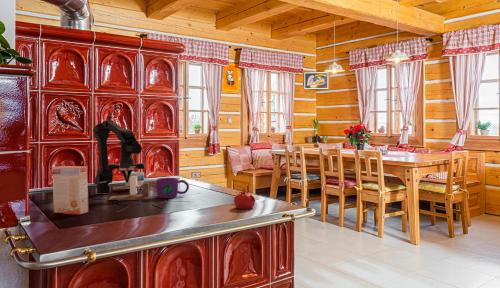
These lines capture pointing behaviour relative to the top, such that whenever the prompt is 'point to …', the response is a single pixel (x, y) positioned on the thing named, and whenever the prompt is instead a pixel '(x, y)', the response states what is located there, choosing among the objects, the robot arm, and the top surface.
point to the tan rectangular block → (133, 185)
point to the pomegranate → (244, 200)
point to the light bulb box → (139, 178)
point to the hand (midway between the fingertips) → (127, 182)
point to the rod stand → (132, 197)
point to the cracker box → (70, 189)
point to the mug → (169, 187)
